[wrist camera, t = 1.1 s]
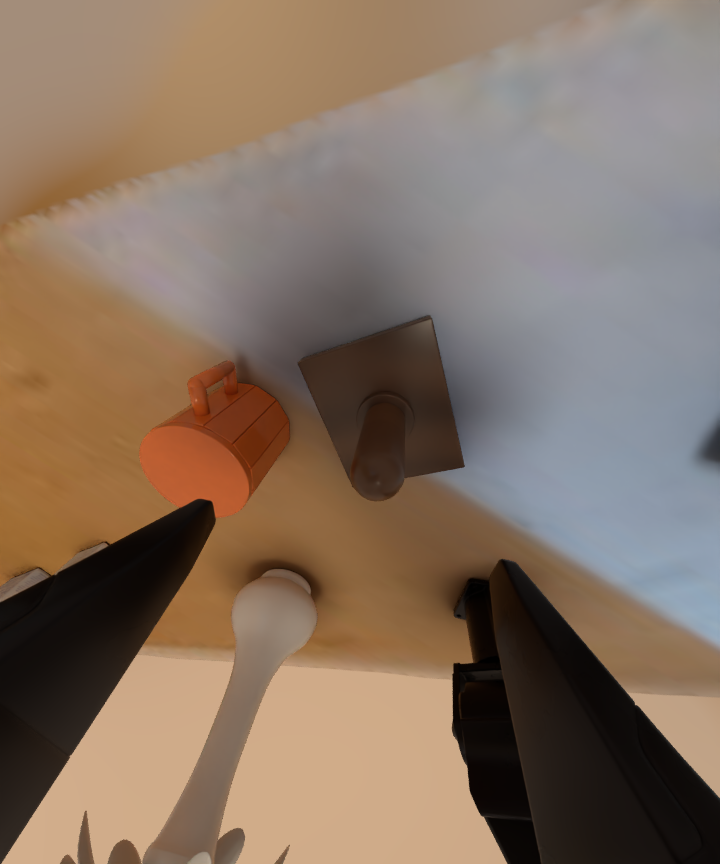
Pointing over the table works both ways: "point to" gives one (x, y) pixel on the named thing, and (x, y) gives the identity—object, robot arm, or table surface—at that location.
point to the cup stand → (386, 407)
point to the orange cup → (216, 443)
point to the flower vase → (228, 726)
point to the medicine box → (22, 583)
